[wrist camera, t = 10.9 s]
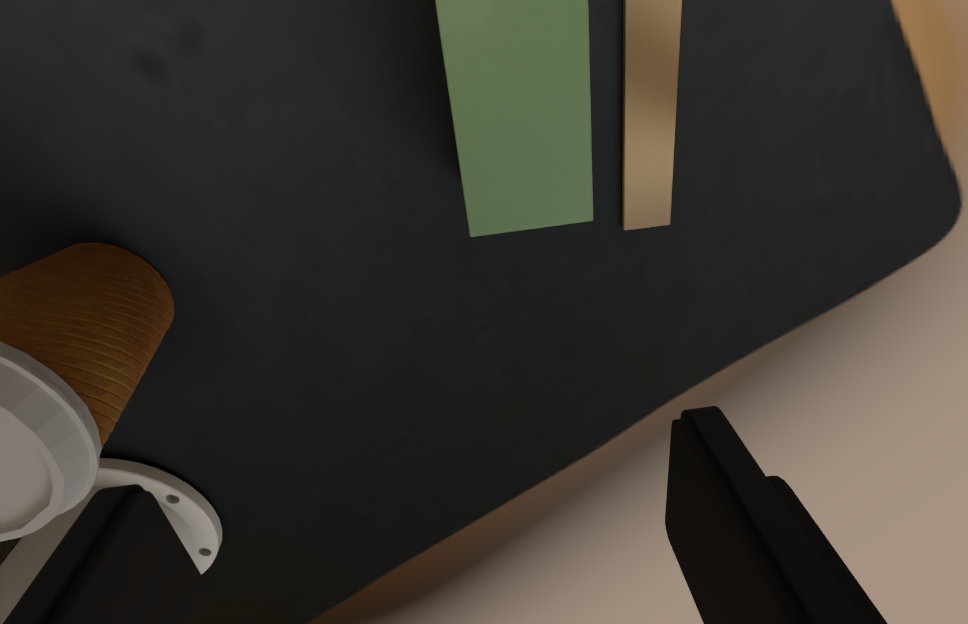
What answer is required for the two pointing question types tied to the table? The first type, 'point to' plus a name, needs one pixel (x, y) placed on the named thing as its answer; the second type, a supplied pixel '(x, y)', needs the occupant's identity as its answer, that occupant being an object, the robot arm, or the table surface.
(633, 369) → the table surface
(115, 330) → the disposable coffee cup
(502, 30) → the green box
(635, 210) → the strip
